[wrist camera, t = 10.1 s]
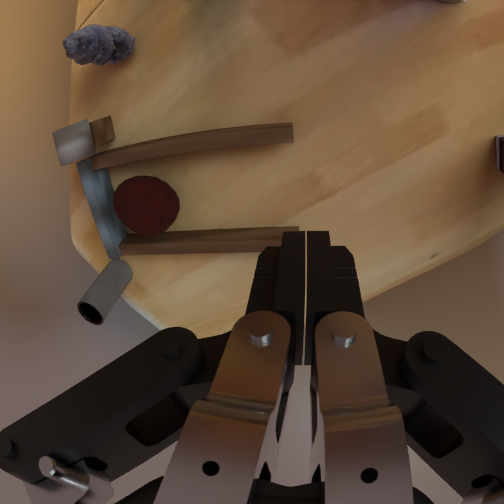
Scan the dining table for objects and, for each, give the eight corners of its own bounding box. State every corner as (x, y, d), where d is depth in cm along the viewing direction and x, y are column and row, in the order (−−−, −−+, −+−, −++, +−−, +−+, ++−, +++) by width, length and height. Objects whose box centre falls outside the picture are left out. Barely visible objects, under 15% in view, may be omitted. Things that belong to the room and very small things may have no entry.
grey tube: (133, 264, 42) (102, 310, 34) (132, 284, 45) (104, 329, 36) (109, 254, 42) (75, 297, 33) (109, 274, 44) (78, 317, 36)
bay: (86, 120, 30) (42, 136, 23) (287, 78, 25) (286, 77, 19) (122, 243, 40) (94, 278, 33) (299, 237, 36) (299, 280, 29)
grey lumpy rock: (112, 73, 26) (57, 80, 18) (100, 40, 24) (44, 39, 15) (148, 53, 25) (96, 50, 17) (135, 18, 22) (82, 7, 14)
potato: (129, 161, 33) (99, 181, 27) (190, 176, 33) (168, 199, 27) (126, 210, 37) (100, 236, 31) (182, 227, 37) (162, 257, 32)
